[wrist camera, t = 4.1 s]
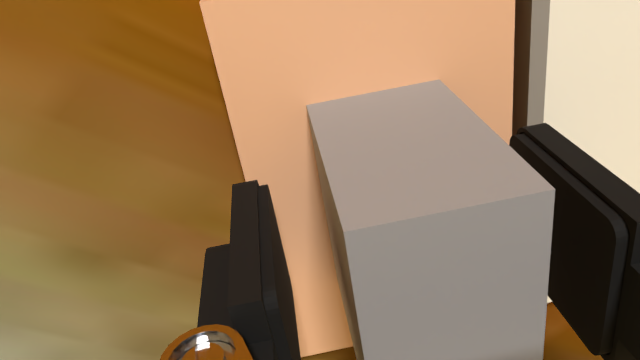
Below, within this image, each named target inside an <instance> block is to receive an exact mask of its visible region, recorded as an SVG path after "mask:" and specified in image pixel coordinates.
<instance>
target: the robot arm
mask: <svg viewBox="0 0 640 360" xmlns="http://www.w3.org/2000/svg"><path fill="white" fill-rule="evenodd" d="M509 146H510V147H511V148H512V149H513V150H514V151H516V152H517V153H518V154H519V155H520V156H521V157H522V158H523V159H524V160H525V161H526V162H527V163H528V164H529V165H530V166H531V167H532V168H534V169H535V170H536V171H537V172H538V173H539V174H540V175H541V176H542V177H543V178H544V179H545V180H546V181H547V182H548V183H549V184H550V185H551V186H553V187H554V188H555V201H554V214H553V228H552V241H551V255H550V269H549V282H548V297H549V298H550V299H551V301H552V302H553V303H554V305H555V306H556V307H557V309H558V310H559V311H560V313H561V314H562V315H563V317H564V318H565V319H566V321H567V322H568V323H569V325H570V326H571V327H572V329H573V330H574V331H575V332H576V334H577V335H578V336H579V338H580V339H581V340H582V342H583V343H584V344H585V346H586V347H587V348H588V350H589V351H590V352H591V353H592V354H594V355H601V356H602V358H603V359H604V360H640V193H639V192H637V191H636V190H635V189H633V188H632V187H631V186H629V185H628V184H627V183H625V182H624V181H623V180H621V179H620V178H619V177H617V176H616V175H615V174H613V173H612V172H611V171H610V170H608V169H607V168H606V167H604V166H603V165H602V164H600V163H599V162H598V161H596V160H595V159H594V158H592V157H591V156H590V155H588V154H587V153H586V152H584V151H583V150H582V149H580V148H579V147H578V146H576V145H575V144H574V143H572V142H571V141H570V140H568V139H567V138H566V137H564V136H563V135H562V134H560V133H559V132H558V131H557V130H555V129H554V128H553V127H551V126H550V125H549V124H547V123H541V124H536V125H531V126H526V127H521V128H519V129H518V131H517V133H516V135H513V136H511V138H510V143H509ZM160 360H301V356H300V348H299V339H298V331H297V323H296V315H295V306H294V298H293V291H292V285H291V280H290V275H289V271H288V267H287V263H286V258H285V254H284V250H283V246H282V241H281V237H280V233H279V229H278V224H277V220H276V216H275V212H274V207H273V203H272V199H271V195H270V190H269V187H268V184H266V185H261V186H259V184H258V181H257V180H253V181H248V182H243V183H238V184H233V185H232V205H231V229H230V244H225V245H220V246H215V247H210V248H207V249H206V253H205V261H204V270H203V279H202V288H201V298H200V307H199V316H198V325H197V328H195V329H191V330H190V331H188V332H186V333H184V334H182V335H181V336H179V337H178V338H177V339H175V340H174V341H173V342H172V343H171V344H170V345H169V346H168V347H167V348H166V350H165V351H164V353H163V354H162V355H161V358H160Z"/></svg>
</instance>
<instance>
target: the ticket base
mask: <svg viewBox="0 0 640 360" xmlns="http://www.w3.org/2000/svg"><path fill="white" fill-rule="evenodd" d="M541 123H547V124H549V125H550V126H551V127H553V128H554V129H555V130H557V131H558V132H559V133H560V134H562V135H563V136H564V137H566V138H567V139H568V140H570V141H571V142H572V143H574V144H575V145H576V146H578V147H579V148H580V149H582V150H583V151H584V152H586V153H587V154H588V155H590V156H591V157H592V158H594V159H595V160H596V161H598V162H599V163H600V164H602V165H603V166H604V167H606V168H607V169H608V170H610V171H611V172H612V173H613V174H615V175H616V176H617V177H619V178H620V179H621V180H623V181H624V182H625V183H627V184H628V185H629V186H631V187H632V188H633V189H635V190H636V191H637V192H639V193H640V0H515V32H514V71H513V111H512V136H513V135H516V133H517V131H518V129H519V128H521V127H526V126H531V125H536V124H541ZM549 302H552V301H551V299H550V298H549V297H548V296H547V303H549Z"/></svg>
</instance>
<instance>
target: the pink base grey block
mask: <svg viewBox="0 0 640 360" xmlns="http://www.w3.org/2000/svg"><path fill="white" fill-rule="evenodd" d="M200 7H201V10H202V14H203V18H204V22H205V26H206V30H207V34H208V38H209V41H210V45H211V49H212V53H213V57H214V61H215V65H216V69H217V72H218V76H219V80H220V84H221V88H222V92H223V96H224V99H225V103H226V107H227V111H228V115H229V119H230V123H231V127H232V130H233V134H234V138H235V142H236V146H237V150H238V154H239V158H240V161H241V165H242V169H243V173H244V177H245V181H246V182H248V181H253V180H257V181H258V184H259V186H261V185H266V184H268V187H269V190H270V195H271V199H272V203H273V207H274V212H275V216H276V220H277V224H278V229H279V233H280V237H281V241H282V246H283V250H284V254H285V258H286V263H287V267H288V271H289V275H290V280H291V285H292V291H293V298H294V306H295V315H296V323H297V331H298V339H299V348H300V356H301V357H305V356H309V355H314V354H319V353H324V352H328V351H333V350H338V349H343V348H347V347H352V346H354V350H355V355H356V359H357V360H543V351H544V337H545V323H546V310H547V296H548V282H549V269H550V255H551V241H552V228H553V214H554V201H555V188H554V187H553V186H551V185H550V184H549V183H548V182H547V181H546V180H545V179H544V178H543V177H542V176H541V175H540V174H539V173H538V172H537V171H536V170H535V169H534V168H532V167H531V166H530V165H529V164H528V163H527V162H526V161H525V160H524V159H523V158H522V157H521V156H520V155H519V154H518V153H517V152H516V151H514V150H513V149H512V148H511V147H510V146H509V143H510V138H511V136H512V111H513V71H514V32H515V0H200Z"/></svg>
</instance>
